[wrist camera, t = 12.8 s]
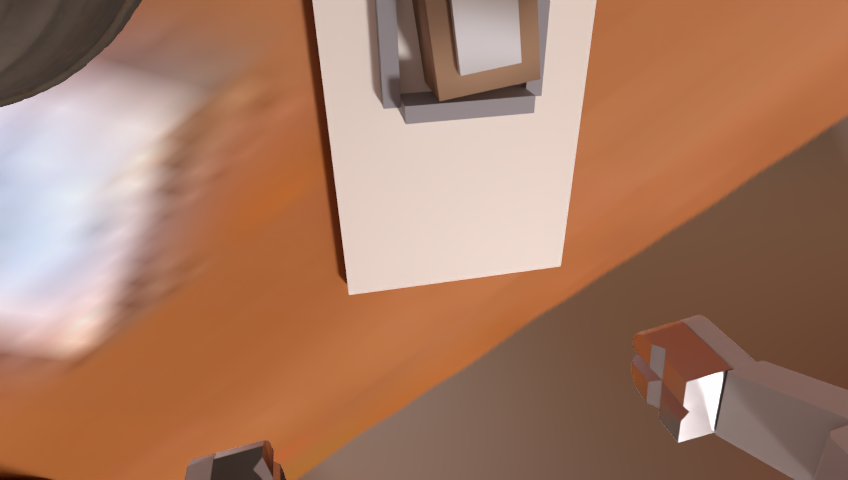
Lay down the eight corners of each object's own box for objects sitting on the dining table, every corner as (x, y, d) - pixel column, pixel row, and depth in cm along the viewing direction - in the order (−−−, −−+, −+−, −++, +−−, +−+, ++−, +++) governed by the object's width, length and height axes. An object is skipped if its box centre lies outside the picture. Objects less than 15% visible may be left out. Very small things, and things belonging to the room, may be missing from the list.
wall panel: (554, 257, 41) (575, 285, 38) (347, 285, 38) (351, 317, 35) (620, -266, 25) (665, -294, 22) (278, -276, 23) (273, -308, 20)
